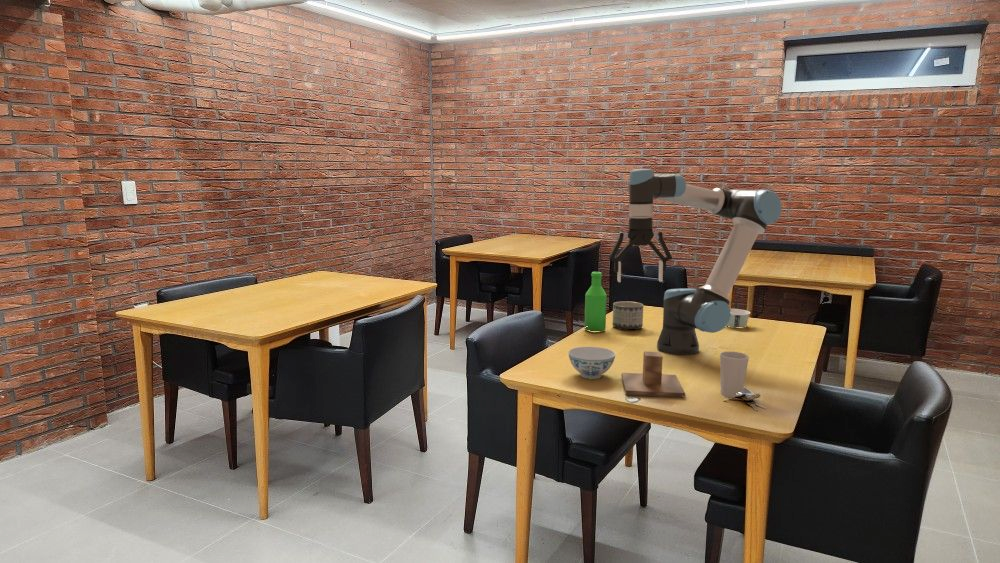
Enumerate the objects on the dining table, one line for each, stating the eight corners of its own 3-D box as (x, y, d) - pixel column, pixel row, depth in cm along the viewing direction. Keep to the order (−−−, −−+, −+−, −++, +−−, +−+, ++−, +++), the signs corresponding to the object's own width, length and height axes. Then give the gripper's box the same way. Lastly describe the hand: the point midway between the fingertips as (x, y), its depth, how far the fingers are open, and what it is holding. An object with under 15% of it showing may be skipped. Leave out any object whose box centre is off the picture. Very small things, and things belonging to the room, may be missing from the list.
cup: (712, 389, 185) (715, 351, 183) (738, 389, 186) (740, 351, 184) (724, 399, 177) (727, 359, 175) (751, 398, 178) (754, 358, 176)
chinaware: (603, 386, 188) (604, 362, 187) (559, 377, 196) (560, 354, 195) (621, 373, 201) (622, 350, 199) (579, 366, 209) (580, 344, 207)
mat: (674, 380, 194) (674, 378, 194) (682, 397, 179) (682, 395, 178) (622, 377, 196) (622, 376, 196) (627, 395, 180) (627, 393, 180)
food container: (754, 329, 261) (755, 314, 260) (725, 329, 261) (726, 314, 260) (743, 323, 273) (744, 308, 272) (716, 322, 273) (717, 308, 272)
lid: (675, 377, 195) (677, 347, 193) (684, 396, 178) (686, 363, 176) (621, 375, 197) (622, 345, 195) (625, 393, 180) (626, 360, 178)
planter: (611, 324, 270) (612, 300, 268) (641, 325, 268) (642, 301, 267) (613, 331, 258) (613, 306, 256) (643, 332, 256) (644, 307, 254)
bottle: (582, 332, 255) (583, 272, 251) (587, 327, 263) (588, 270, 259) (603, 334, 252) (604, 274, 248) (607, 329, 260) (609, 271, 256)
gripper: (677, 215, 202) (675, 278, 206) (600, 217, 203) (600, 279, 207) (682, 217, 194) (680, 282, 198) (603, 218, 196) (603, 283, 200)
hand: (639, 281), depth 203 cm, fingers open, 13 cm apart
